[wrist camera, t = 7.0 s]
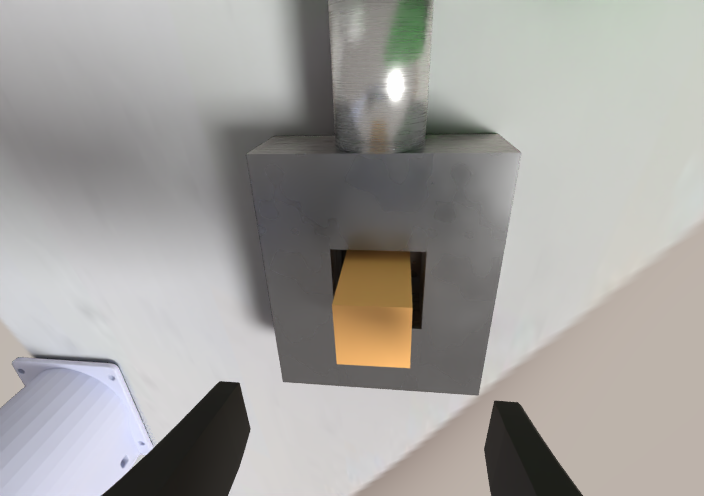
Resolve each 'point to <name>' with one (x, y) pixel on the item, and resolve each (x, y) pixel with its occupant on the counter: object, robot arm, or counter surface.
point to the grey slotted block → (384, 209)
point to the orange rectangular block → (374, 309)
